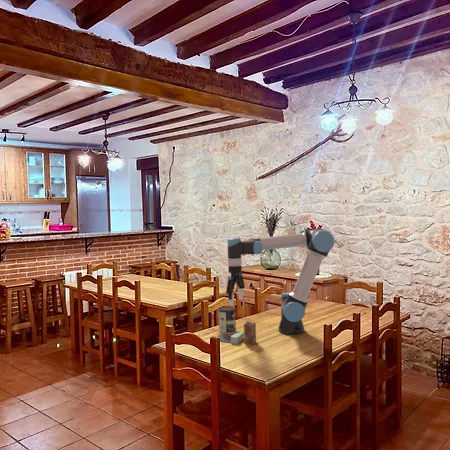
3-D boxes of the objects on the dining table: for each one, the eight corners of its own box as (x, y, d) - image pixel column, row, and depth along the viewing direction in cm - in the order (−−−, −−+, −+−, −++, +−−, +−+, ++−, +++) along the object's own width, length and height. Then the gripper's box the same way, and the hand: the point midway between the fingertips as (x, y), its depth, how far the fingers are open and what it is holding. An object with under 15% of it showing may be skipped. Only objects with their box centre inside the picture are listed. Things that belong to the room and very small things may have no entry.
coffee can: (237, 329, 265) (236, 306, 264) (234, 334, 255) (233, 310, 254) (220, 328, 267) (220, 306, 266) (217, 333, 257) (216, 310, 256)
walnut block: (255, 341, 241) (255, 322, 240) (252, 344, 237) (252, 324, 236) (247, 340, 243) (247, 321, 242) (244, 343, 239) (243, 324, 238)
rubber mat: (236, 337, 250) (236, 336, 250) (229, 342, 240) (229, 342, 240) (219, 335, 254) (219, 334, 254) (211, 340, 245) (211, 340, 245)
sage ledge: (243, 338, 248) (243, 332, 248) (237, 343, 239) (237, 337, 238) (237, 337, 249) (237, 331, 249) (230, 342, 240) (230, 336, 240)
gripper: (237, 261, 258) (238, 297, 259) (219, 268, 236) (220, 307, 237) (249, 262, 255) (250, 297, 256) (231, 269, 232) (233, 308, 234)
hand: (236, 302), depth 247 cm, fingers open, 13 cm apart
